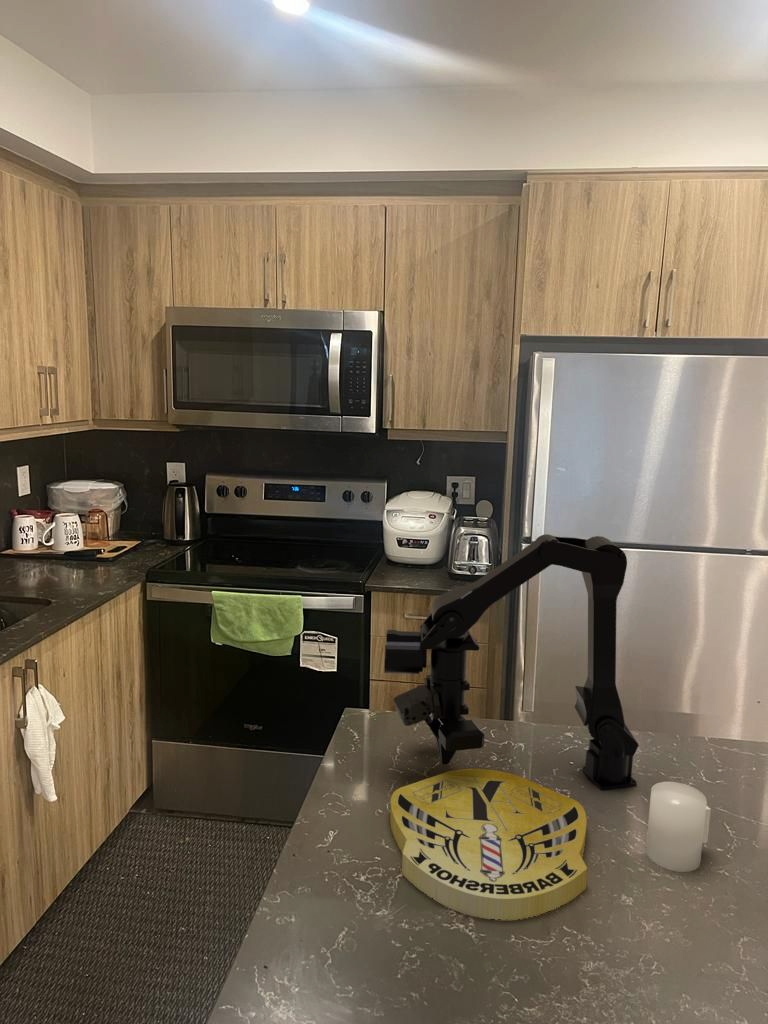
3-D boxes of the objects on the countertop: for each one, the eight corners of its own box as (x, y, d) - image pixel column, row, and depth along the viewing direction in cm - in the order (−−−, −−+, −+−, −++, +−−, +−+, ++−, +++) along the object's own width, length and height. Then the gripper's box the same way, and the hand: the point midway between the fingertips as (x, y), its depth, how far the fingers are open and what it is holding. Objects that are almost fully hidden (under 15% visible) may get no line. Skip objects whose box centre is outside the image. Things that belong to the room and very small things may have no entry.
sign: (376, 888, 90) (396, 763, 120) (375, 912, 91) (396, 781, 120) (612, 908, 88) (574, 775, 117) (610, 932, 88) (573, 794, 118)
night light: (685, 836, 107) (691, 778, 105) (718, 867, 100) (724, 805, 99) (635, 843, 105) (640, 784, 103) (665, 875, 98) (671, 813, 97)
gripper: (385, 656, 126) (383, 741, 129) (415, 702, 108) (413, 800, 111) (447, 651, 129) (444, 735, 132) (487, 696, 111) (483, 792, 114)
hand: (444, 763), depth 122 cm, fingers closed
